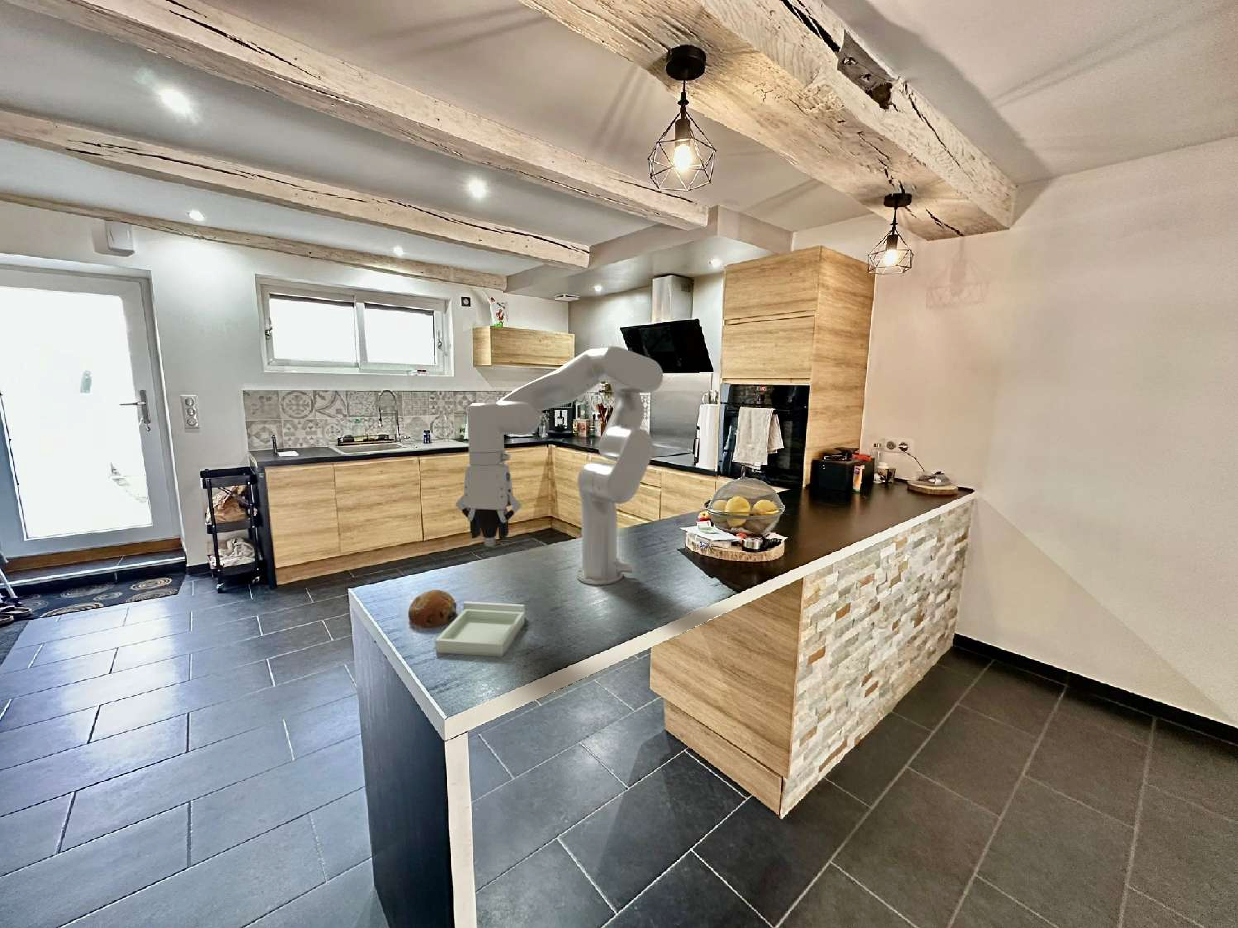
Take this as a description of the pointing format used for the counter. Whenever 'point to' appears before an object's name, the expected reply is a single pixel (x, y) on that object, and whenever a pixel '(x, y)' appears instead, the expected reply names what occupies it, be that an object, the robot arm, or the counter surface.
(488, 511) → the light bulb
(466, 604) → the white flat bar
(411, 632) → the counter surface
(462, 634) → the dish
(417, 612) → the bread roll
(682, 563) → the counter surface
